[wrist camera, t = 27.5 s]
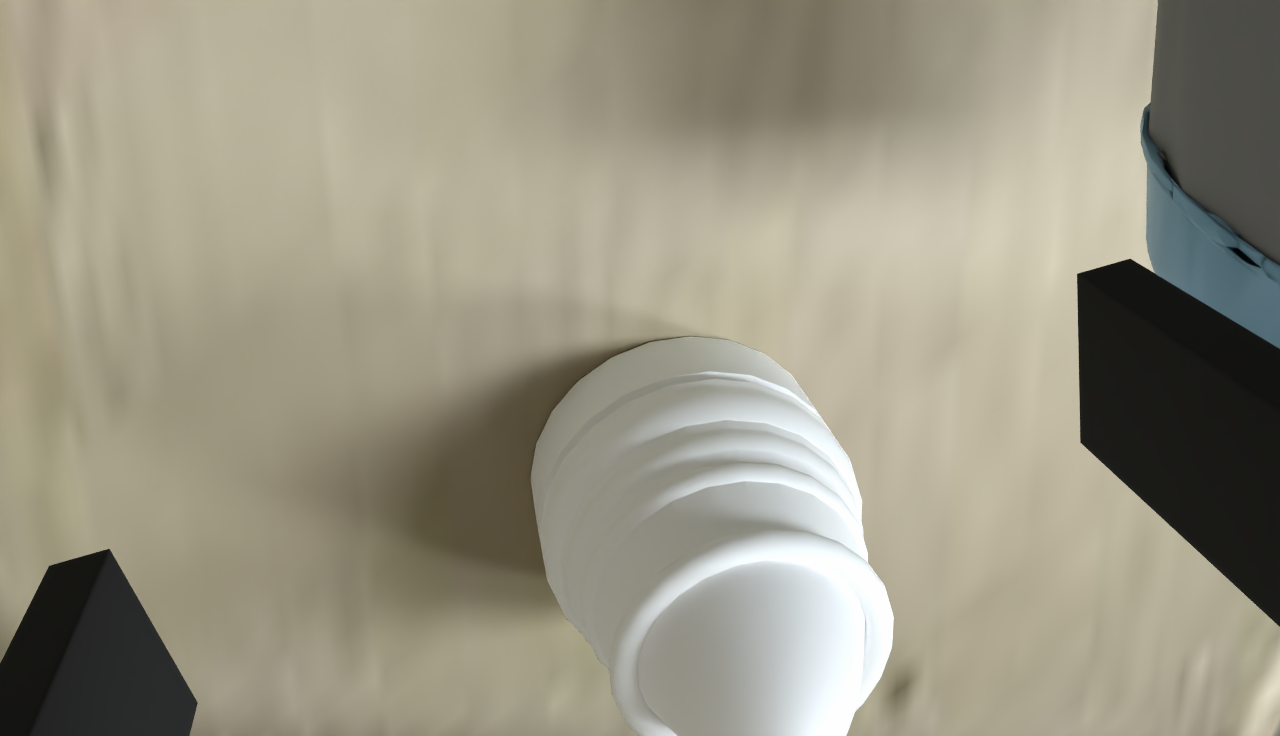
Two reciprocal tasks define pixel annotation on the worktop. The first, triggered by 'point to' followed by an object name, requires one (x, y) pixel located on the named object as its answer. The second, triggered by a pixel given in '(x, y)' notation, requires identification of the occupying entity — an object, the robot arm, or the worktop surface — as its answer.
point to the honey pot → (710, 544)
